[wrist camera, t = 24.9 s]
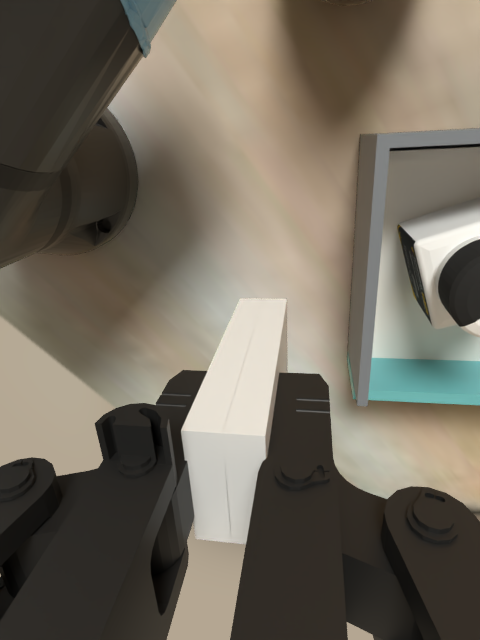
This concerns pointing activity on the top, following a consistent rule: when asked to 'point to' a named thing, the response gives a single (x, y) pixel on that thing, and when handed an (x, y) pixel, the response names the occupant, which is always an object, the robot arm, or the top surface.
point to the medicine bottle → (445, 264)
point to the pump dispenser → (346, 2)
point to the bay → (379, 235)
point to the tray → (397, 296)
